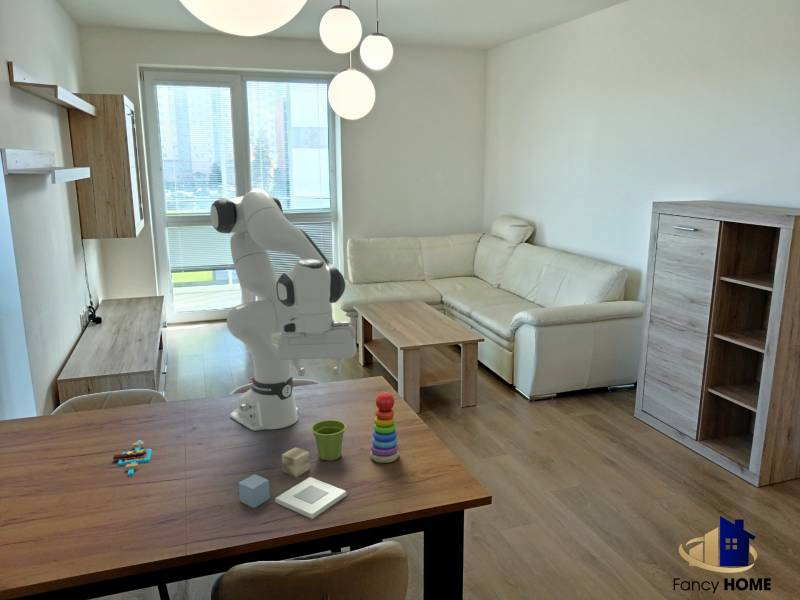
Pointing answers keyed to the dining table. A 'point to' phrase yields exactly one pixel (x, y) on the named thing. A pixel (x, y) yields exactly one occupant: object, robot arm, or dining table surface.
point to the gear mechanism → (136, 454)
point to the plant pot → (329, 438)
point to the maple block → (295, 461)
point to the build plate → (310, 497)
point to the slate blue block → (254, 490)
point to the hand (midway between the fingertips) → (319, 374)
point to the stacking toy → (384, 431)
